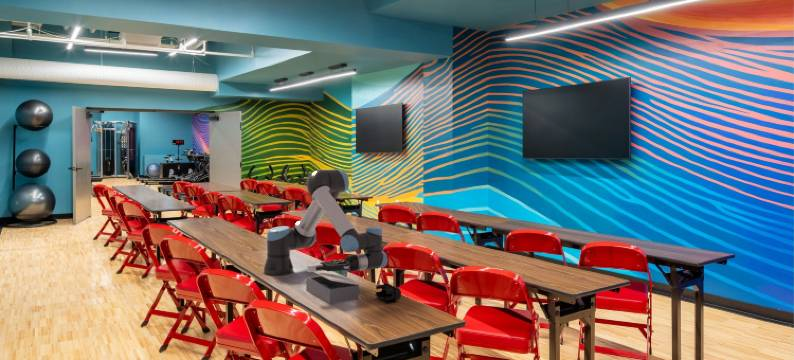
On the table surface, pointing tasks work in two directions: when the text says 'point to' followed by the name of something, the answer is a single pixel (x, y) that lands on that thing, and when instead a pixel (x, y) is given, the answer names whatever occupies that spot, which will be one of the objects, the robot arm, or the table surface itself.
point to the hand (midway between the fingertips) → (308, 268)
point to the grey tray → (331, 289)
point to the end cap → (388, 293)
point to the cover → (335, 277)
